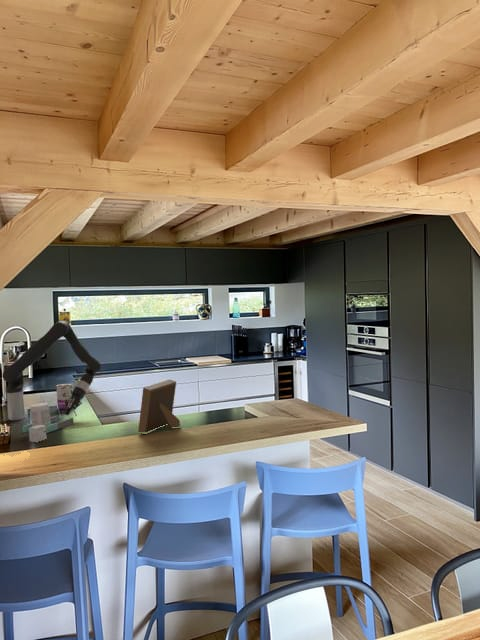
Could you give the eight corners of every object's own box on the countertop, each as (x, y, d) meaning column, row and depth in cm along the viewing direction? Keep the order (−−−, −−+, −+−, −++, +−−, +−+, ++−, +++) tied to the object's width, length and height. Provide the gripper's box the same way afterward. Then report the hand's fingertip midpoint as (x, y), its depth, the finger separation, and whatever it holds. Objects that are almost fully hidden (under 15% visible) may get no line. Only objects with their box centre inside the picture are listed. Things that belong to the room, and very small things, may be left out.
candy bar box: (77, 407, 320) (74, 383, 319) (73, 409, 315) (71, 384, 314) (61, 407, 322) (59, 383, 321) (57, 409, 317) (55, 385, 316)
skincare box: (37, 442, 244) (35, 428, 243) (29, 441, 247) (28, 427, 246) (47, 439, 249) (45, 425, 249) (39, 438, 252) (38, 424, 252)
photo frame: (138, 434, 245) (134, 386, 244) (164, 423, 264) (162, 378, 263) (160, 437, 238) (157, 388, 236) (186, 425, 257) (183, 380, 255)
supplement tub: (51, 426, 273) (49, 401, 272) (51, 431, 264) (48, 405, 263) (33, 429, 270) (30, 404, 269) (32, 434, 261) (29, 407, 260)
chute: (23, 432, 266) (22, 426, 265) (56, 421, 285) (55, 415, 284) (40, 434, 258) (40, 428, 258) (73, 423, 277) (73, 417, 276)
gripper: (69, 385, 292) (54, 410, 282) (84, 386, 285) (69, 412, 275) (77, 392, 297) (62, 416, 287) (92, 393, 290) (77, 418, 280)
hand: (66, 414), depth 281 cm, fingers closed
